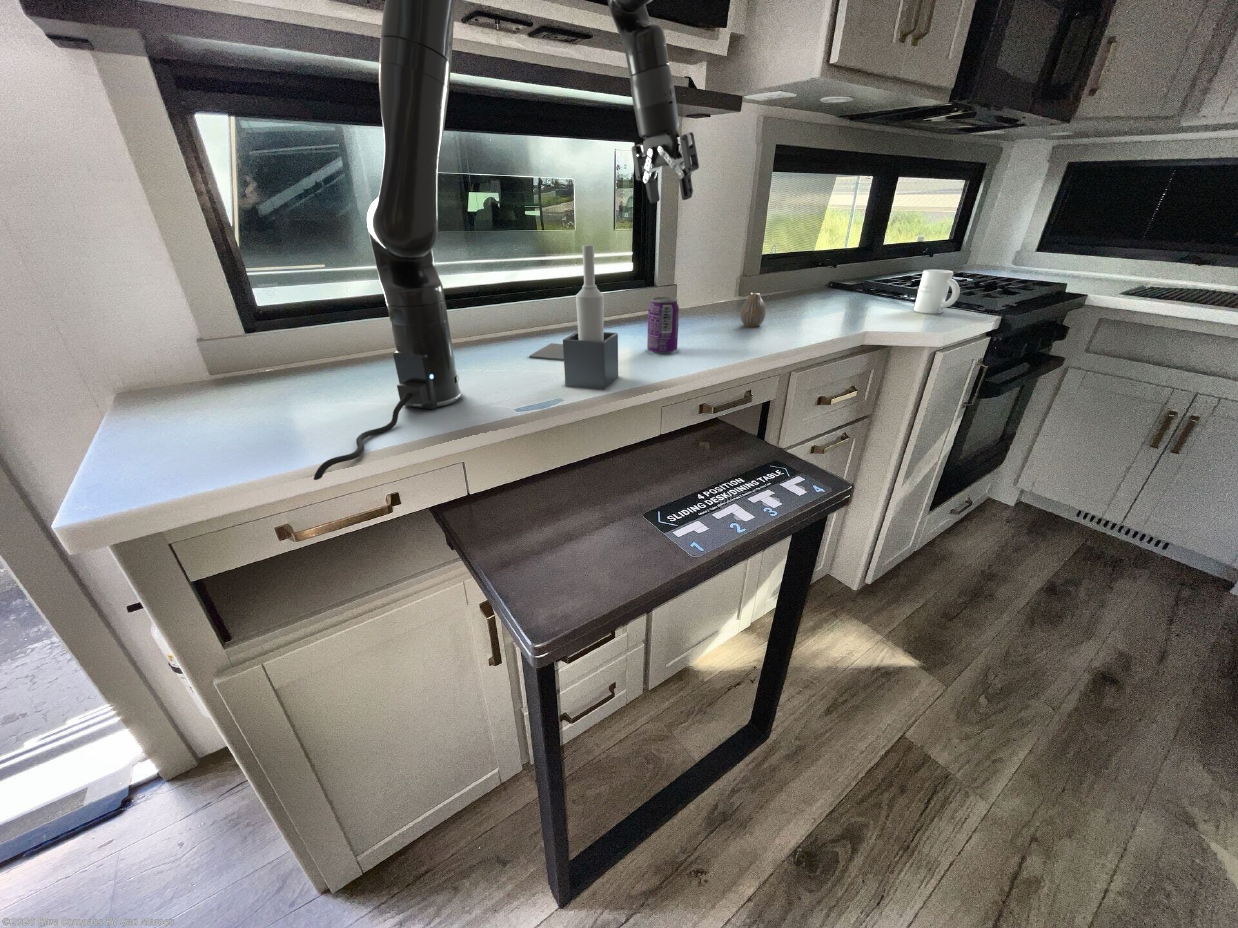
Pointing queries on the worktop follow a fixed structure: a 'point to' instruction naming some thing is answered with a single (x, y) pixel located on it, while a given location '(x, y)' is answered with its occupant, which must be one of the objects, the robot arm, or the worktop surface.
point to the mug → (936, 291)
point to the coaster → (550, 352)
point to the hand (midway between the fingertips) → (670, 200)
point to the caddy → (591, 361)
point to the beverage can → (663, 325)
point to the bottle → (590, 302)
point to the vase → (753, 311)
